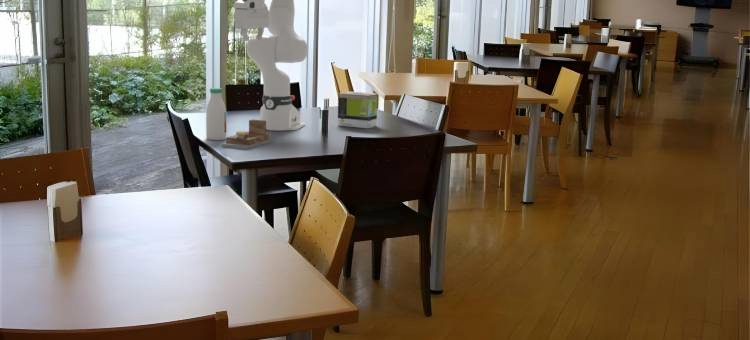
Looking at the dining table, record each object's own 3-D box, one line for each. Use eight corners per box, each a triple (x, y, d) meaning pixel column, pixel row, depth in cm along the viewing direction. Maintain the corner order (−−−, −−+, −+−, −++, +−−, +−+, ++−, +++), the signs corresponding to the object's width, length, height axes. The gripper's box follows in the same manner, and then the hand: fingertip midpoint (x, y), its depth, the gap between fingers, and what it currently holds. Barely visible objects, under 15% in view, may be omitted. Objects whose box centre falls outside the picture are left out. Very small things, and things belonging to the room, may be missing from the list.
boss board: (250, 138, 340) (250, 125, 339) (272, 141, 336) (272, 127, 335) (222, 146, 322) (222, 132, 321) (245, 149, 318) (245, 135, 317)
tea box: (377, 126, 381) (378, 93, 378) (367, 129, 372) (368, 95, 369) (347, 122, 387) (347, 90, 384) (336, 125, 378) (337, 92, 375)
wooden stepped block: (248, 136, 338) (248, 118, 337) (270, 139, 334) (270, 121, 333) (226, 142, 324) (226, 124, 322) (248, 145, 320) (248, 126, 319)
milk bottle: (222, 141, 333) (221, 90, 329) (203, 139, 334) (202, 88, 330) (229, 138, 340) (229, 87, 336) (210, 136, 342) (210, 86, 337)
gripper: (259, 3, 335) (259, 38, 338) (231, 3, 316) (231, 41, 319) (273, 3, 332) (273, 39, 335) (245, 4, 314) (245, 42, 317)
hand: (252, 40), depth 327 cm, fingers open, 8 cm apart
